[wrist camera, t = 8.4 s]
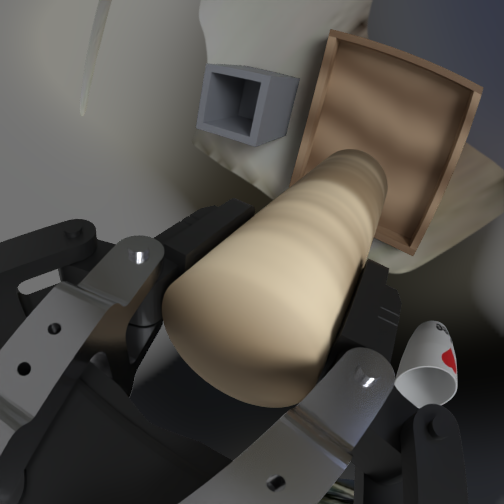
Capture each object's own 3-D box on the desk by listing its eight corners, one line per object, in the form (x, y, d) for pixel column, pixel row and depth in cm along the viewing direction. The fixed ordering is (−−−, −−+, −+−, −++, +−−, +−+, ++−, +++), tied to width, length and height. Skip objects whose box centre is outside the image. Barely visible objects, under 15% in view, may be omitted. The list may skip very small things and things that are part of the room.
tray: (337, 33, 27) (330, 29, 25) (477, 88, 23) (483, 87, 21) (294, 191, 39) (285, 198, 37) (413, 244, 35) (413, 256, 32)
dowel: (329, 138, 16) (163, 241, 6) (398, 166, 15) (349, 337, 5) (310, 201, 19) (162, 354, 9) (372, 228, 17) (285, 426, 8)
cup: (459, 350, 37) (458, 404, 29) (409, 358, 42) (399, 410, 34) (453, 306, 35) (455, 361, 27) (398, 317, 40) (387, 370, 32)
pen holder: (244, 65, 34) (206, 63, 28) (299, 78, 32) (270, 76, 26) (233, 119, 38) (195, 128, 32) (285, 135, 36) (255, 146, 30)
